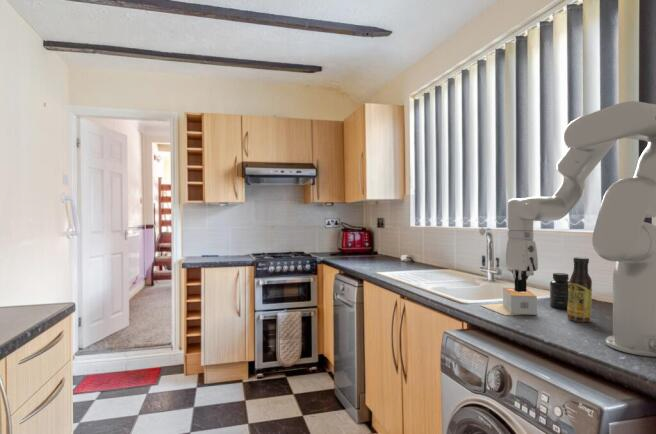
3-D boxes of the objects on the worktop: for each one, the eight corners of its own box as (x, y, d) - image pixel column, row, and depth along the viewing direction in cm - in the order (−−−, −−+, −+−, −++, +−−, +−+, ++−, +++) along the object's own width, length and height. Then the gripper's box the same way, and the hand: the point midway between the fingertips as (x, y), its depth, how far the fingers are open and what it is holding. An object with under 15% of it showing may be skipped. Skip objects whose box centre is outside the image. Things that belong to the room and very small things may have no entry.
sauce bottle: (562, 318, 123) (562, 256, 123) (576, 316, 125) (576, 255, 125) (582, 324, 117) (582, 259, 117) (596, 322, 119) (596, 258, 119)
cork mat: (536, 313, 129) (536, 312, 129) (505, 315, 127) (505, 314, 127) (509, 304, 143) (509, 303, 143) (480, 305, 141) (480, 305, 141)
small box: (510, 294, 128) (502, 287, 141) (510, 314, 128) (502, 305, 141) (537, 295, 126) (526, 288, 139) (537, 315, 126) (526, 306, 139)
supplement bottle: (550, 303, 143) (550, 271, 143) (572, 306, 139) (572, 273, 139) (548, 307, 137) (548, 274, 137) (571, 310, 133) (571, 275, 133)
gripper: (547, 236, 120) (547, 295, 120) (515, 234, 135) (515, 286, 135) (526, 237, 119) (526, 296, 119) (496, 234, 133) (496, 287, 133)
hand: (520, 291), depth 127 cm, fingers closed
